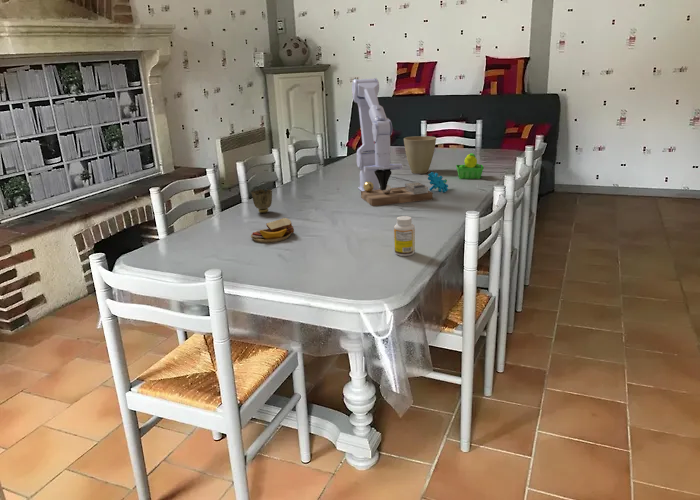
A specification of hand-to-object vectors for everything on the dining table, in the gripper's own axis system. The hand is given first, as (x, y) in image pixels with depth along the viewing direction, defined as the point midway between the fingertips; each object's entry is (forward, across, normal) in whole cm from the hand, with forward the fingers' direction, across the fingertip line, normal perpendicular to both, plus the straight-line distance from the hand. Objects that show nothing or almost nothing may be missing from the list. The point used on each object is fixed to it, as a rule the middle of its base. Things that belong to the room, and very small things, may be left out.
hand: (383, 189), depth 212 cm
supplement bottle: (+7, -13, -60) cm, 62 cm away
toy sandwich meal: (+6, -46, -30) cm, 55 cm away
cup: (+5, -46, +1) cm, 46 cm away
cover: (+2, +13, -1) cm, 13 cm away
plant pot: (+2, +32, +45) cm, 56 cm away
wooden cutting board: (+4, +5, +1) cm, 7 cm away
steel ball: (0, +1, 0) cm, 1 cm away
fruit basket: (+3, +47, +24) cm, 53 cm away
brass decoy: (0, -4, +6) cm, 7 cm away
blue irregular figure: (+4, +25, +6) cm, 26 cm away
